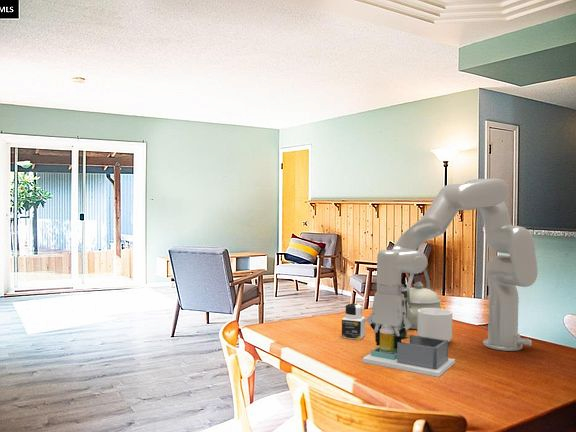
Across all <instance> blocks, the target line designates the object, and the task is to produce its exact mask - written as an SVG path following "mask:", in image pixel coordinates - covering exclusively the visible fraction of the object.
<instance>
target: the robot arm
mask: <svg viewBox="0 0 576 432" xmlns="http://www.w3.org/2000/svg"><path fill="white" fill-rule="evenodd" d="M509 192H510V189H509V185H508V184H507V182H505V180H503V179H502V178H501V179H500V178H497V177H494V178H492V177H491V178H475V179H469V180H467V181H465V182H464V183H451V184H446V185H445V186H443V187H441V189H440V191H438V193H437V194H436V196H435V197H434V199H433V201H432V202H431V204H430V205H429V207H428V208H427V209H426V212H425V213H424V215H423V216H422V217H420V219H419V220H417V221H416V222H415V223H414V224H413V225H411V226H410V227H409V228H408V229H407V230H405V231H404V232H403V233H402V235H400V236H399V238H398V239H397V241H396V242H395V244H394V245H393V247H392V249H385V250H379V251H377V252H378V253H377V254H376V256H377V257H376V266H377V267H376V292H375V293H374V296H373V299H372V300H373V301H372V307H371V308H372V312H371V313H370V314H369V316H368V317H367V318H365V322H367V324H368V325H370V327H371V328H372V330H373V333H375V334H374V335H375V339H374V340H375V341H374V342H376V343H375V345H376V346H377V347H379V346H380V329H381V328H382V327H383V326H382V325H389V326H393V327H394V329H395V332H396V336H395V337H394V348H395V349H397V342H402V338H401V335H402V334H403V333H404V332H405V331H406V330H407V331H408V330H410V329H411V328H410V327H412V325H411V323H410V322H409V321H408V319H407V318H406V307H405V299H404V295H403V294H401V292H402V291H403V292H405V289H406V287H404V286H402V285H403V284H402V273H403V274H404V273H405V274H410V273H412V274H413V275H414V274H417V275H418V274H419V273H422V272H424V270H425V268H426V267H427V264H428V263H429V262H428V258H427V256H426V255H425V253H423V252H422V251H420V250H418V248H419V247H420V246H421V245H423V244H424V243H426V242H427V241H430V240H432V239H434V238H437V237H439V236H441V235H443V234H444V233H445V232H446V231H447V229H448V227H449V226H450V225H451V223H452V221H454V219H455V217H456V215H457V214H458V212H459V211H472V210H473V211H474V210H479V212H480V214H481V215H482V220H483V225H484V233H485V234H484V235H485V239H486V244H487V248H488V249H489V250H491V251H492V252H494V253H495V252H496V253H501V254H508V255H501V254H498V255H495V256H492V257H491V258H490V259H489V260H488V261H487V264H486V270H485V271H486V277H487V282H488V317H487V318H488V321H487V322H488V325H487V331H488V332H487V338H485V339H484V340H483V341H482V343H483V345H484V347H487V348H489V349H493V350H498V351H504V352H505V351H507V352H513V351H514V352H516V351H521V350H522V349H523V345H524V346H528V347H531V346H532V340H531V339H529V338H525V337H524V338H522V337H521V333H519V331H518V330H519V303H520V301H519V292H518V289H517V287H522V288H526V287H527V288H528V287H531V286H532V285H534V283H536V281H537V279H538V272H539V271H538V270H539V269H538V261H537V256H536V255H537V254H536V248H535V242H534V237H533V236H532V234H531V232H530V231H529V230H528V229H527V228H526V227H524V226H521V225H520V226H519V225H513V224H512V221H511V217H510V213H509V209H508V206H507V204H506V202H505V201H506V200H507V199H508V196H509ZM428 265H429V264H428ZM403 324H405V327H403V328H401V325H403Z"/></svg>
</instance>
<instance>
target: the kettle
mask: <svg viewBox="0 0 576 432" xmlns="http://www.w3.org/2000/svg"><path fill="white" fill-rule="evenodd" d="M428 268H429V264H427V267H426V268H425V270H424V271H423V274H424V277H425V280H426V281H425V282H426V287H424V284H423V283H422V282H421V281H417V282H415V283H414V284H413V286H414V287H411V285H412V282H413V279H414V274H412V273H409V277H408V280H407V285H406V287H405V290H406V291H407V319H408V321H409V322H410V323H411V325H412V327H410V328H409V329H411V330H417V324H418V310H419V309H422V308H438V309H442V307H441V302H442V300H441V299H440V296H439V295H438V294H437V293H436V291H433V290H432V289H431V281H430V277H429V275H428V274H429V273H428Z"/></svg>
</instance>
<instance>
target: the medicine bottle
mask: <svg viewBox="0 0 576 432" xmlns="http://www.w3.org/2000/svg"><path fill="white" fill-rule="evenodd" d="M365 336H366V316H363V306H362V305H361V304H359V303H348V304H346V305H345V316H344V317H343V318H342V319H341V339H349V340H356V341H361V340H362V339H363V338H364V337H365Z"/></svg>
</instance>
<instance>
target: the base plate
mask: <svg viewBox="0 0 576 432" xmlns="http://www.w3.org/2000/svg"><path fill="white" fill-rule="evenodd" d="M379 347H380V345H379V346H377V347H376V348H374V349H371V351H370V353H368V354H367V355H365V356H363V357H362V358H361V362H362V363H365V364H370V365H375V366H382V367H385V368H389V369H390V368H391V369H394V370H395V369H396V370H401V371H406V372H411V373H416V374H420V375H426V376H432V377H437V378H439V377H441V376H442V375H443V374H444V373H445V372H447V371H448V370H449V369H450V368H451V367H452V366H453V365H454V364H456V359H455V358H451V357H448V360H447V361H446V362H445V363H443V364H442V365H441V366H440V367H439V368H437V369H432V368H426V367H421V366H416V365H410V364H405V363H400V362H397V352H396V353H394V354H388V353H383V352H380V349H379Z"/></svg>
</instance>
